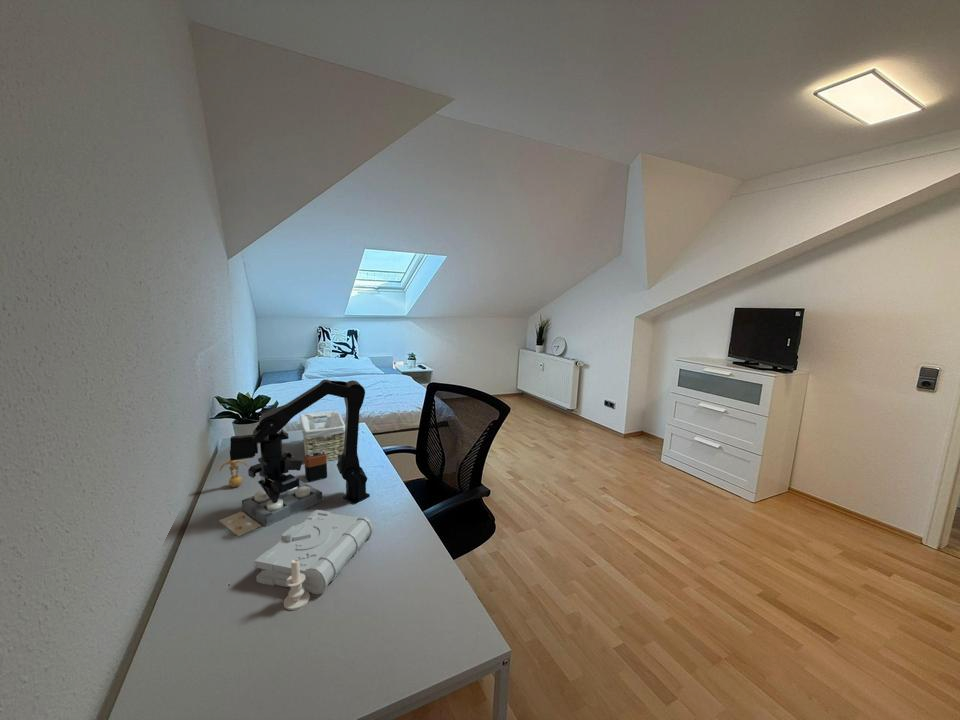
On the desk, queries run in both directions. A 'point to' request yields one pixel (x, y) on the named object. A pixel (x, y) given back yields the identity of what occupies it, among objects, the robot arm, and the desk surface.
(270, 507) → the button
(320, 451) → the battery
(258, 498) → the button
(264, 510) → the button board
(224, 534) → the desk surface
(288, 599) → the candle
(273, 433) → the robot arm
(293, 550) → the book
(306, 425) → the storage basket
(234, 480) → the figurine
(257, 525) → the pattern card
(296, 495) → the button
